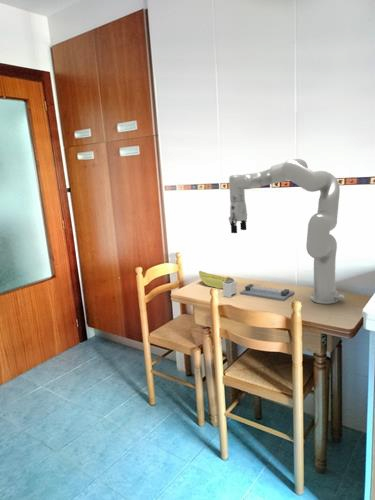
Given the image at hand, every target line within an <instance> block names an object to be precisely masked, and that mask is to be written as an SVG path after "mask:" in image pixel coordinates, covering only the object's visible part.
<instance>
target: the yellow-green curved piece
mask: <svg viewBox="0 0 375 500" xmlns="http://www.w3.org/2000/svg"><path fill="white" fill-rule="evenodd" d="M198 275H199V278H200V280H201V281H202V283H204V284H205V285H206V286H208V287H212V288H215V289H220V290H223V283H224V282H226V281H228V280H234V278H233V277H229V276H227V277H226V276H220V275H216V274H212V273H208V272H206V271H202V270H199V271H198Z"/></svg>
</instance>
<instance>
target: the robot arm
mask: <svg viewBox="0 0 375 500" xmlns="http://www.w3.org/2000/svg"><path fill="white" fill-rule="evenodd" d="M308 166H309V165H308V163H307V162H306V160H304V159H302V158H295V159H293V158H292V159H287V160H286V161H284V162H281V163H278V164H275V165H272V166H271V167H270V168H269V169H265V170H262V171H258V172H253V173H245V174H233V175H232V174H231V175H230V176H229V177H228V178H229V179H228V181H229V182H228V183H229V184H228V185H229V200H230V201H229V202H230V206H229V215H230V216H229V217H228V221H229V224H230V230H231V231H230V232H231V233H232V234H237V233H238V226H237V224H238V222H240V231H246V230H247V222H248V221H247V219H248V211H247V204H246V200H245V199H246V197H245V190H251V189H256V188H262V187H265V186H268V185H274V184H279V183H283V182H287V181H290V182H292V183H293V184H295V185H296V186H298V187H299V188H302V189H303V190H305V191H306V192H312V193H313V192H318V191H320V194H319V198H318V202H317V203H318V204H317V205H318V207H317V212H316V213H314V214H313V215H312V216H311V217H310V219H309V221H308V224H307V233H306V235H307V237H306V246H305V247H306V251H307V254H308V255H309V256H310V257H311V258H313V294H311V296H310V300H311V302H314V303H315V304H322V305H331V304H336V303H338V302H339V300H345V295H344V294H343V293H339V292H338V289H336V257H337V250H338V249H337V248H338V245H337V244H338V243H337V240H336V238H335V236H334V235H332V234H331V233H330V232H331V231H333V230H334V229H335V228H336V227H337V225H338V214H339V213H338V212H339V202H340V194H341V193H340V191H341V190H340V183H339V181H338V179H337V178H336V176H334V175H333V174H332V173H331V172H328V171H325V170H316V171H313V170H312V169H309V168H308Z"/></svg>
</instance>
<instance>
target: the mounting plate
mask: <svg viewBox="0 0 375 500" xmlns="http://www.w3.org/2000/svg"><path fill="white" fill-rule="evenodd" d="M264 288H266V287H265V286H264ZM271 289H273V288H272V287H271ZM278 290H280V289H278ZM239 293H240V295H243V296H249V297H256V298H263V299H269V300H275V301H281V302H285V301H286V300H288V299H289V298H291V297H292V296H293V295H295V291H293V290H289V294H288V295H286V296H281V295H276V294H270V293H263V292H256V291H250V290H249V291H246V290H245V289H243V290H241V291H240V292H239Z"/></svg>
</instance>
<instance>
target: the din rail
mask: <svg viewBox="0 0 375 500" xmlns="http://www.w3.org/2000/svg"><path fill="white" fill-rule="evenodd" d="M264 287H265V286H264ZM264 287H263V286H258V285H257V286H256V285H254V284H253V283H249V284H247V285H246V286H245V287H244V290H246V291H249V290H250V291H256V292H263V293H270V294H276V295H281V296H286V295H288V294H289V291H290V289H287V288H284V289H279V290H278V289H277V288H272V287H271V288H272V289H271V288H270V287H265V288H264Z"/></svg>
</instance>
